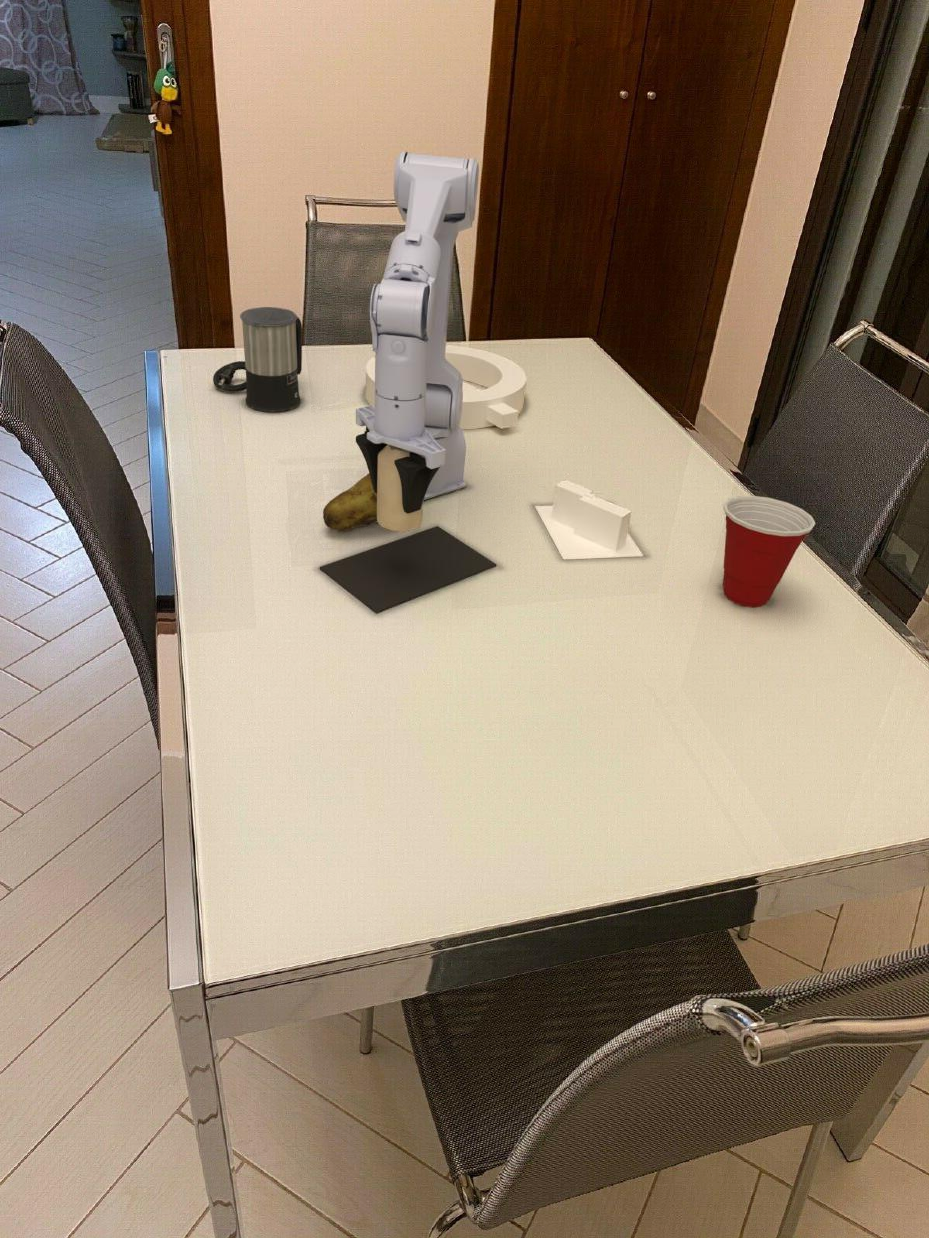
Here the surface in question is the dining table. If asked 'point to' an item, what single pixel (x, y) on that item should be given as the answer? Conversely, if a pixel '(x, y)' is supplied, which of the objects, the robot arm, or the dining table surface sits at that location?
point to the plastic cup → (760, 546)
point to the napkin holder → (587, 524)
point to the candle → (393, 493)
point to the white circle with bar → (478, 405)
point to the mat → (406, 568)
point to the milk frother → (267, 360)
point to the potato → (352, 507)
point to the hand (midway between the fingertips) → (396, 500)
